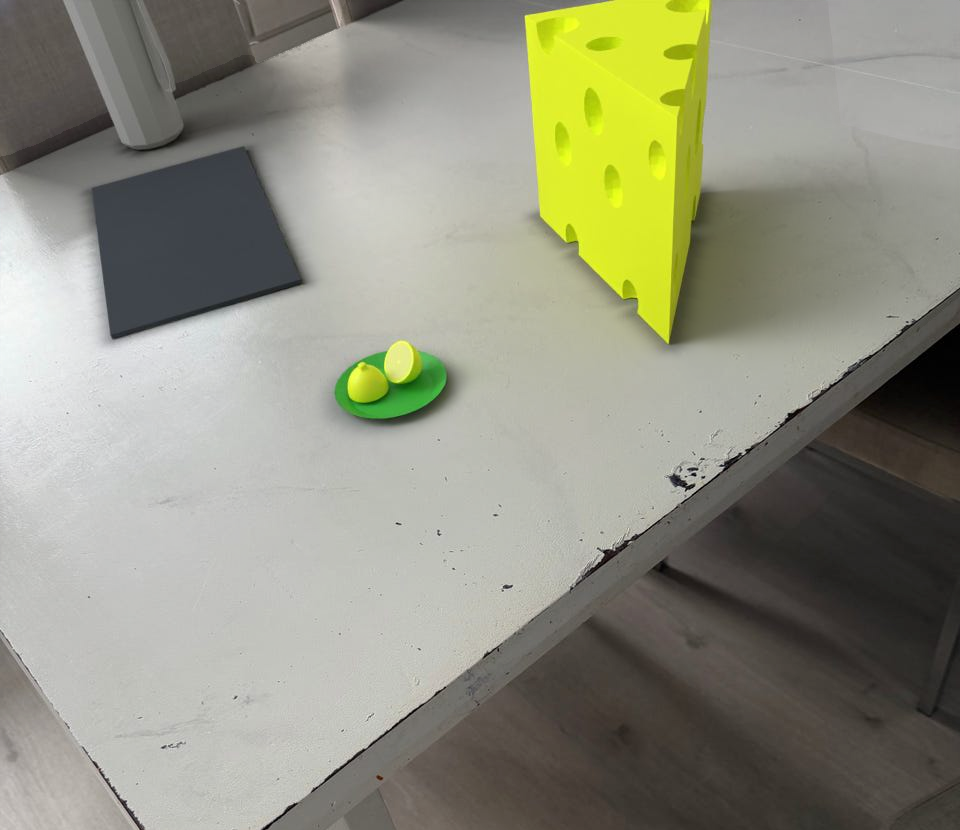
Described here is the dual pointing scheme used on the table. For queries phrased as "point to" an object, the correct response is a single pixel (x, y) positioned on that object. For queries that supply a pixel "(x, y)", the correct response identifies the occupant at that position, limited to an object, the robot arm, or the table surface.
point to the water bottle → (129, 69)
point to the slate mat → (187, 242)
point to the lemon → (390, 382)
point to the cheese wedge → (622, 138)
